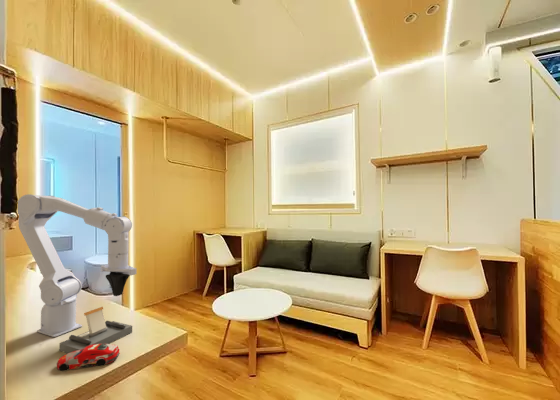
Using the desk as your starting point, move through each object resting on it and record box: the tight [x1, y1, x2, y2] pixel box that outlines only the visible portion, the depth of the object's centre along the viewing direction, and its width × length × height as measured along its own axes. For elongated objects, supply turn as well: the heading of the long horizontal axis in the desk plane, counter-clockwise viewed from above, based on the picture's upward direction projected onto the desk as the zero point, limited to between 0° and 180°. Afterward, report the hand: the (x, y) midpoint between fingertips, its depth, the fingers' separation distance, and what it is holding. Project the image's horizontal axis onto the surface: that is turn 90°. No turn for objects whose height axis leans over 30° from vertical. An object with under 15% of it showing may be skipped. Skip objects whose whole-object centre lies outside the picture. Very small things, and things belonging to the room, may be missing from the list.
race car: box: [56, 343, 121, 372], centre depth 66 cm, size 13×5×4 cm, turn 103°
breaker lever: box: [83, 306, 108, 337], centre depth 77 cm, size 2×5×7 cm, turn 158°
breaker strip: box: [59, 320, 133, 354], centre depth 77 cm, size 9×15×3 cm, turn 157°
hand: (117, 295), depth 85 cm, fingers closed
